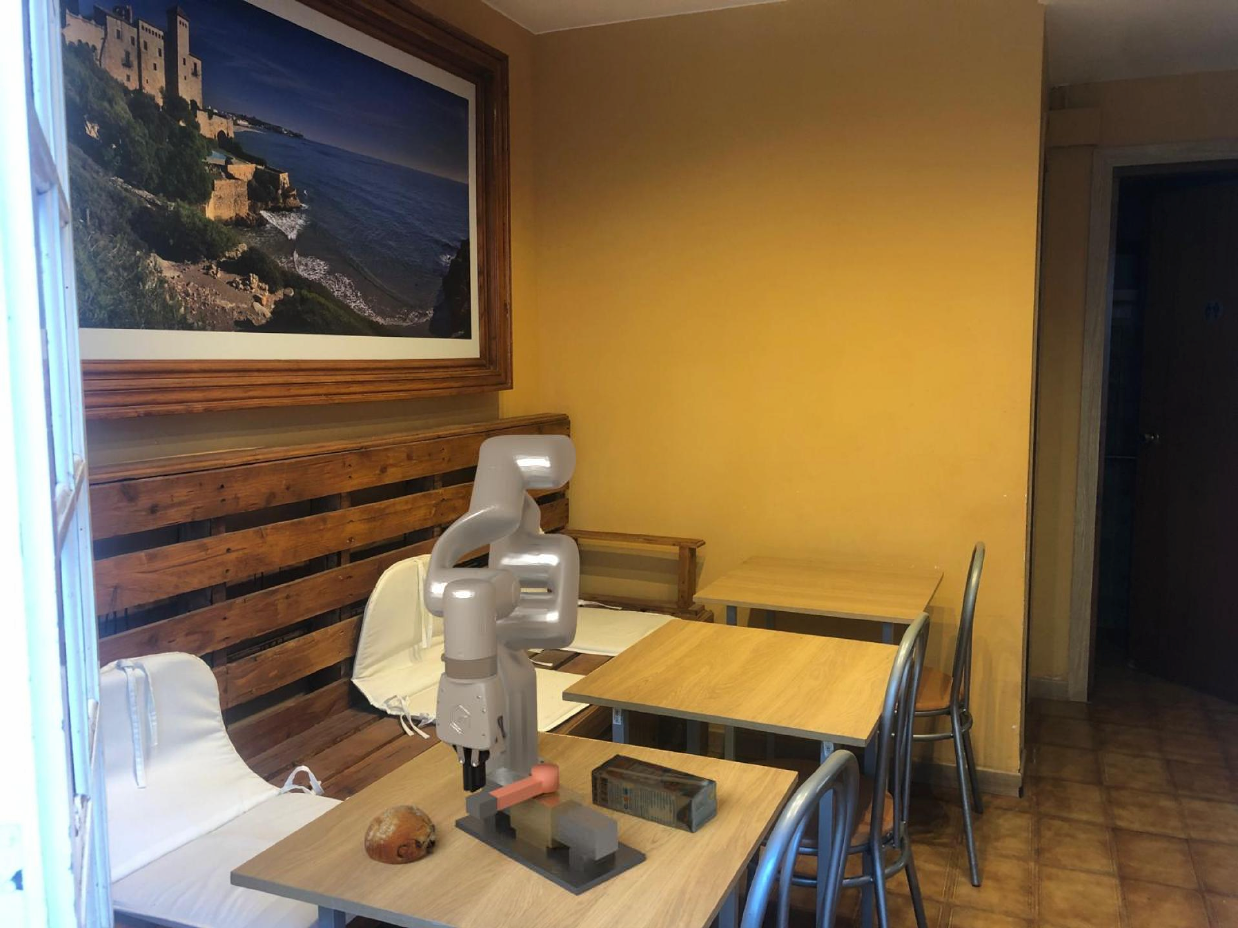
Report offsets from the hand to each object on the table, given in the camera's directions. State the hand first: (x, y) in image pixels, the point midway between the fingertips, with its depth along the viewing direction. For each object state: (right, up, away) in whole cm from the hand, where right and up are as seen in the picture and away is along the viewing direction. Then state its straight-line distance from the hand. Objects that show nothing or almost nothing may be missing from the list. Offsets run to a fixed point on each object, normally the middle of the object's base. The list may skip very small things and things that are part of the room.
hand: (474, 787), depth 144 cm
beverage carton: (+26, -8, +12) cm, 30 cm away
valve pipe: (+10, -9, +2) cm, 14 cm away
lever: (+6, -1, -3) cm, 7 cm away
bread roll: (-11, -10, +1) cm, 14 cm away
